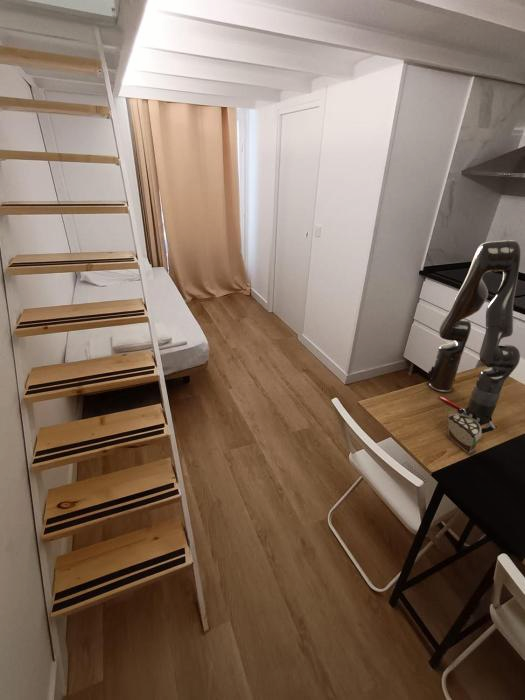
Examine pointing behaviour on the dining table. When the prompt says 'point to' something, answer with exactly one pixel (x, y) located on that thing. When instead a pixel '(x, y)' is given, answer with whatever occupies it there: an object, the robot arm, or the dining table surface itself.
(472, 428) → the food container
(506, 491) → the dining table surface
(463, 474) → the dining table surface
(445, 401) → the spoon
